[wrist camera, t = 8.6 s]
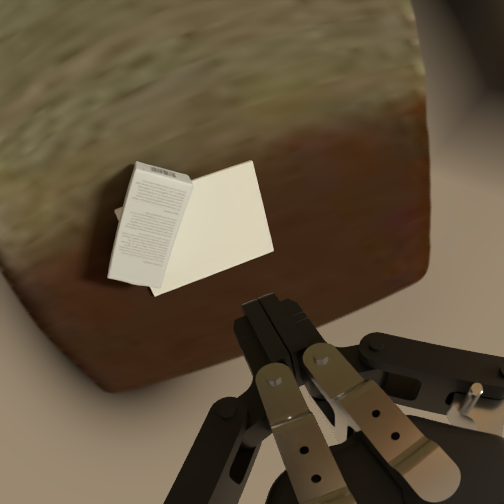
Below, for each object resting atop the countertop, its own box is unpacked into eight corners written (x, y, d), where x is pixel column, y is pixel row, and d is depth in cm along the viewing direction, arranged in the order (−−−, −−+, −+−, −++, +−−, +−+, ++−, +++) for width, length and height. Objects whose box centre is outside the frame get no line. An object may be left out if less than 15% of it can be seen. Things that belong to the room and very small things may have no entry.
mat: (114, 209, 33) (114, 210, 32) (251, 160, 35) (252, 160, 35) (154, 294, 39) (154, 296, 38) (272, 249, 41) (273, 250, 41)
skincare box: (135, 159, 31) (108, 260, 34) (135, 167, 27) (105, 279, 31) (189, 175, 33) (157, 271, 37) (196, 185, 30) (160, 290, 33)
